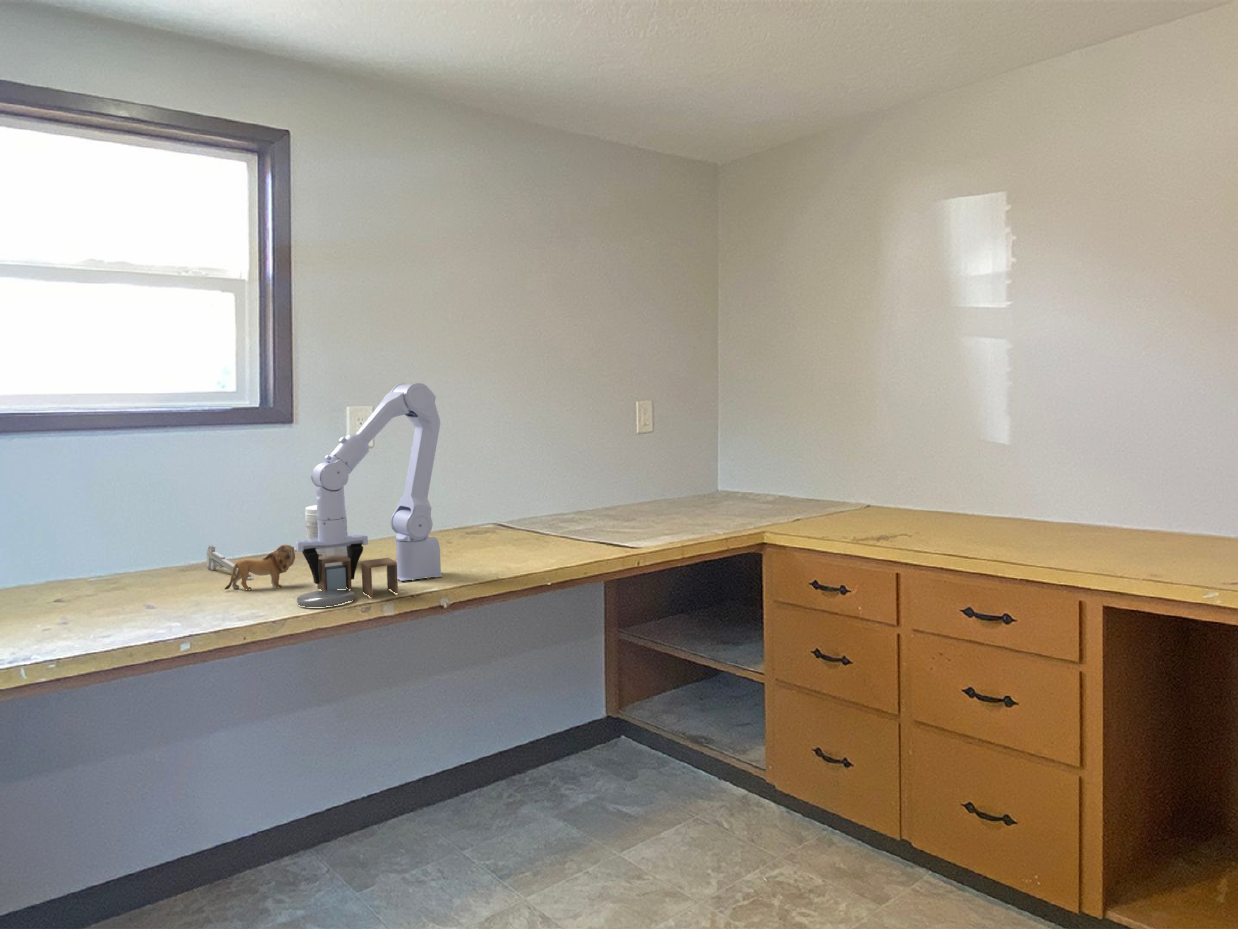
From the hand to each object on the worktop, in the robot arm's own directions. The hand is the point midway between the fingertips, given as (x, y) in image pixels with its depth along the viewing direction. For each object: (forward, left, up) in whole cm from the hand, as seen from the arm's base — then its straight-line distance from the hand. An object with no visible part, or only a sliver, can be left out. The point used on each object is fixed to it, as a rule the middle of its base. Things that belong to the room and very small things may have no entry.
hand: (334, 581), depth 182 cm
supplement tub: (-5, -28, -2) cm, 29 cm away
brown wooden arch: (0, 0, -2) cm, 2 cm away
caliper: (+17, -31, -2) cm, 35 cm away
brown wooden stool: (-7, +10, -2) cm, 12 cm away
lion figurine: (+12, -12, -2) cm, 17 cm away
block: (0, 0, -2) cm, 2 cm away
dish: (+4, +10, -2) cm, 11 cm away
